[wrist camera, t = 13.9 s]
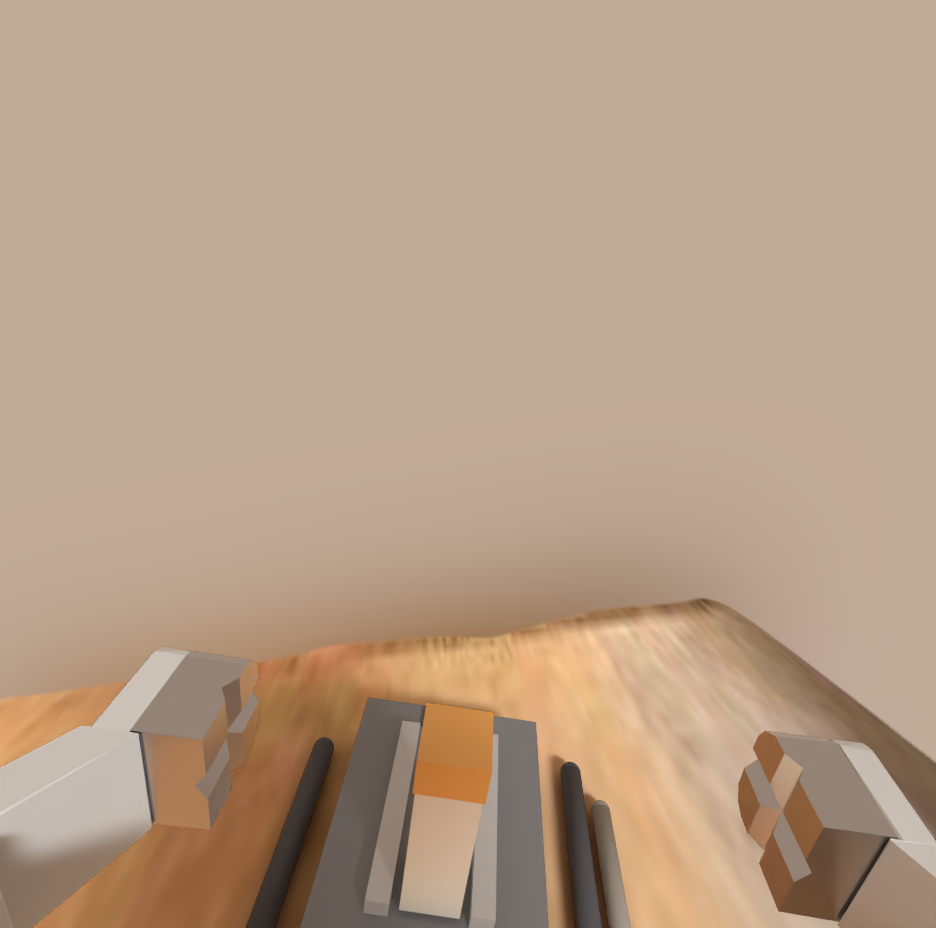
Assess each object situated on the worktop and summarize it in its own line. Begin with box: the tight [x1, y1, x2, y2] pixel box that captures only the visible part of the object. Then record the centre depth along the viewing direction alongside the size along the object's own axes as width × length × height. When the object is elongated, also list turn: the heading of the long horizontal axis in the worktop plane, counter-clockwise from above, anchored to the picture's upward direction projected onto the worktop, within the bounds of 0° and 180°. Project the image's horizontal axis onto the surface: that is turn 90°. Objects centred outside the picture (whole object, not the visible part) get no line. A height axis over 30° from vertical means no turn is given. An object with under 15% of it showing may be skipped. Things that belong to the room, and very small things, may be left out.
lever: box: [399, 703, 494, 919], centre depth 27 cm, size 3×3×10 cm
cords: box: [246, 737, 631, 928], centre depth 34 cm, size 16×21×1 cm
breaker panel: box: [300, 697, 549, 928], centre depth 34 cm, size 16×12×5 cm
